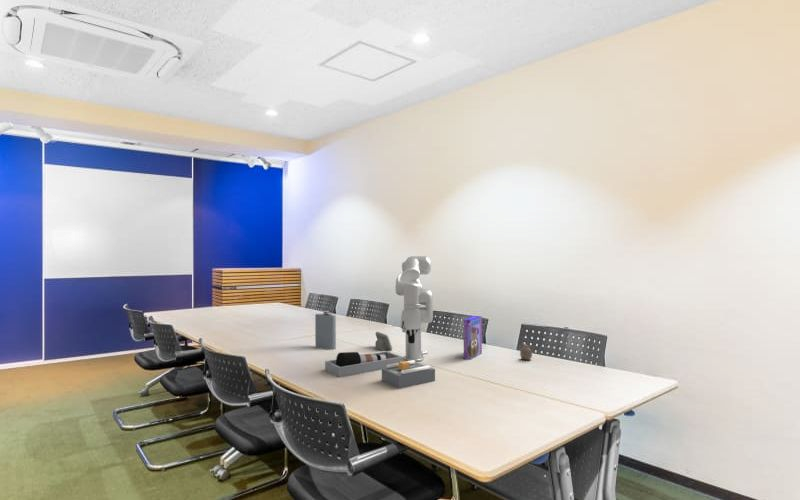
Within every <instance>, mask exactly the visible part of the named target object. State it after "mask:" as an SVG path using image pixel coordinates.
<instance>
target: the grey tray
mask: <svg viewBox="0 0 800 500" xmlns="http://www.w3.org/2000/svg"><path fill="white" fill-rule="evenodd" d="M369 354H370V355H371V354H372V353H369ZM373 354H375V355H383V354H384V355H385V356H386V358H390V357H391V358H390V359H384V360H378V361H372V362H366V363H360V364H354V365H348V366H343V367H339V366H337V365H336V359H330V360H325V361H324V370H325V371H326V372H328V373H329V374H331V375H333V376H335V377H337V378H343V377H348V376H354V375H360V373H361V374H365V372H366V373H370V372H371V373H372V372H375V371H382V369H384V368H386V366H387V365H389V364H394V363H399V362H402V361H404V359H403V357H404V356H402V355H399V354H396V353H393V352H390V351H389V350H385V351H380V352H375V353H373Z"/></svg>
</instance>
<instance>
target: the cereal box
mask: <svg viewBox="0 0 800 500" xmlns="http://www.w3.org/2000/svg"><path fill="white" fill-rule="evenodd" d="M482 321H483V320H482V316H481V315H474V316H471V317H467V318H465V319H463V360H472V359H475V358H476V357H478V356H480V355H482V353H483V349H482V348H483V346H482V345H483V344H482V343H483V341H482V339H483V337H482V335H483V333H482V332H483V330H482V329H483V327H482V326H483V325H482V323H483V322H482Z"/></svg>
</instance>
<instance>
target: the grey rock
mask: <svg viewBox="0 0 800 500" xmlns="http://www.w3.org/2000/svg"><path fill="white" fill-rule="evenodd" d="M375 336H376V340H375V349H377V350H379V351H380V352H384V351H393V346H392V343H391V340H390V337H389V335H388V334H385V333H383V332H380V331H376V332H375Z"/></svg>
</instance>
